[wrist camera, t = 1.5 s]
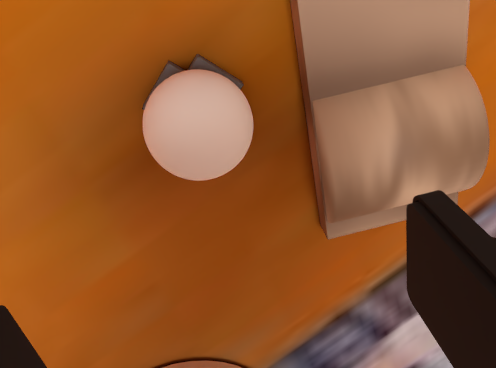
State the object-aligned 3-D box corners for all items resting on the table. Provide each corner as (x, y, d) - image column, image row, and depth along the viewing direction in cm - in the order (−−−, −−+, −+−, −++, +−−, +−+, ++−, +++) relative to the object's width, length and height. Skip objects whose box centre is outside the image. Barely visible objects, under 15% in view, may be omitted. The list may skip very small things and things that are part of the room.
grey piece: (257, 91, 22) (260, 95, 22) (211, 161, 24) (212, 166, 23) (178, 42, 21) (179, 44, 20) (133, 121, 22) (133, 125, 22)
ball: (242, 152, 24) (257, 200, 19) (148, 152, 23) (141, 202, 19) (248, 59, 21) (267, 89, 17) (143, 55, 20) (134, 86, 16)
